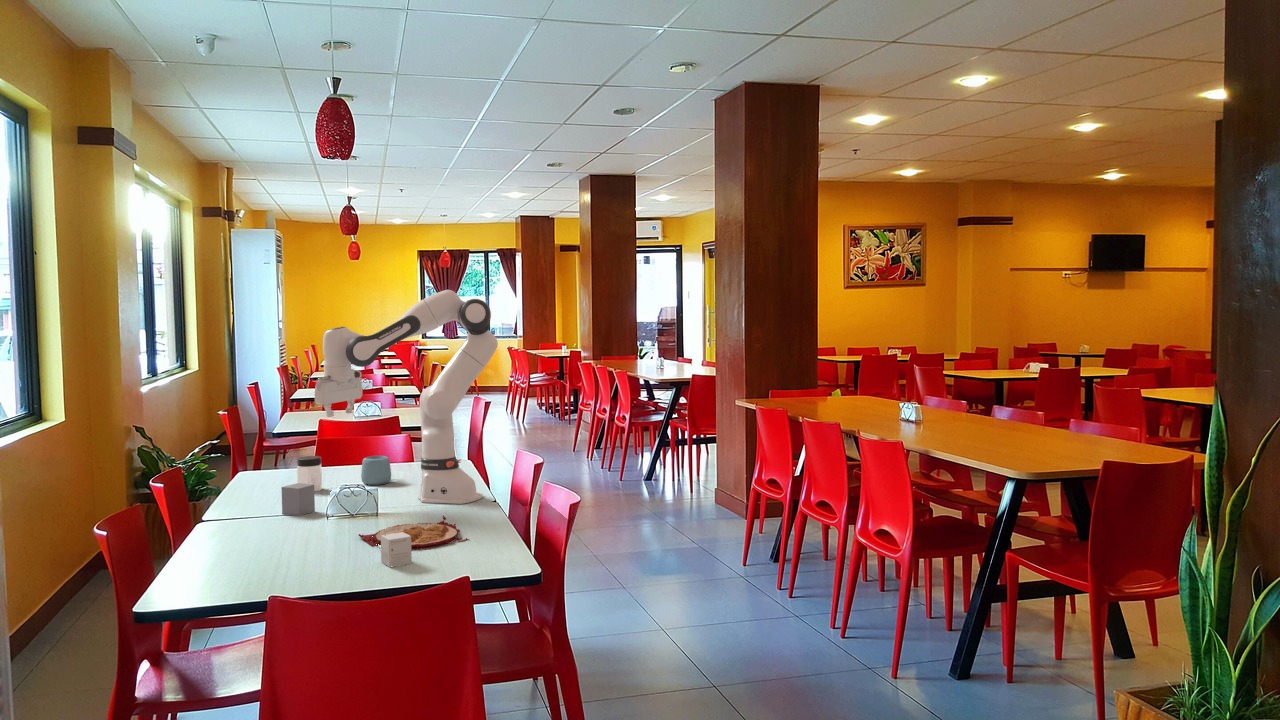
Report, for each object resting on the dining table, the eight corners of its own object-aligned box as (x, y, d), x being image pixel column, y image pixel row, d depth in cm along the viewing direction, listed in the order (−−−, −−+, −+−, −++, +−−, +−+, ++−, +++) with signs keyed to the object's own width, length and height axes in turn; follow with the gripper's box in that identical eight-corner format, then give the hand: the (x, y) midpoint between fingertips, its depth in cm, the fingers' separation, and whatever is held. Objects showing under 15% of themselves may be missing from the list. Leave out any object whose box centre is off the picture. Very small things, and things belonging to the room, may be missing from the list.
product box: (389, 568, 225) (388, 539, 224) (380, 562, 230) (380, 534, 229) (412, 564, 228) (411, 536, 228) (403, 558, 233) (402, 531, 233)
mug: (372, 478, 346) (371, 453, 345) (399, 478, 345) (399, 453, 344) (356, 486, 331) (355, 459, 330) (384, 486, 330) (384, 459, 329)
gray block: (314, 511, 289) (314, 484, 289) (299, 515, 283) (298, 488, 282) (298, 509, 292) (297, 483, 291) (282, 514, 285) (281, 487, 285)
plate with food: (357, 541, 255) (357, 529, 255) (444, 525, 271) (443, 513, 270) (388, 561, 235) (388, 548, 235) (479, 543, 251) (479, 530, 250)
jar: (302, 493, 318) (301, 460, 317) (293, 490, 323) (292, 457, 323) (326, 490, 324) (325, 457, 323) (317, 486, 330) (316, 454, 329)
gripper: (323, 377, 291) (326, 419, 292) (364, 372, 310) (366, 411, 311) (308, 377, 293) (310, 418, 294) (350, 372, 312) (352, 411, 313)
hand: (339, 414), depth 303 cm, fingers open, 8 cm apart
